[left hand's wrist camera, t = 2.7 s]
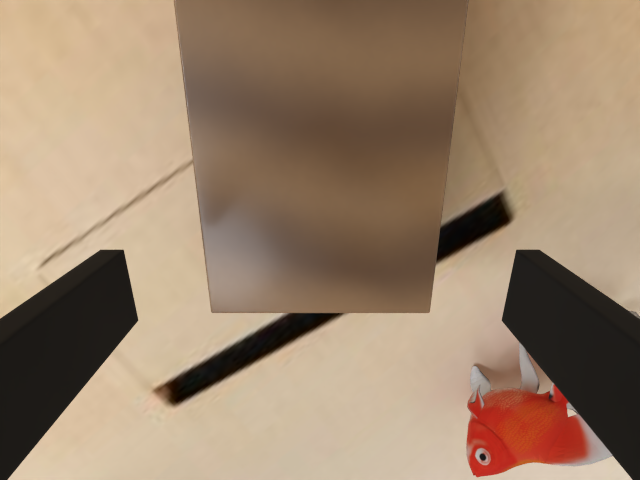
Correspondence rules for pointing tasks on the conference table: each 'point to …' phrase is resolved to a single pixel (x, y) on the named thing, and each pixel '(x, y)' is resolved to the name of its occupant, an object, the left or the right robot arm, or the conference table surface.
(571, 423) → the fish
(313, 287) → the cabinet
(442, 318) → the conference table surface
